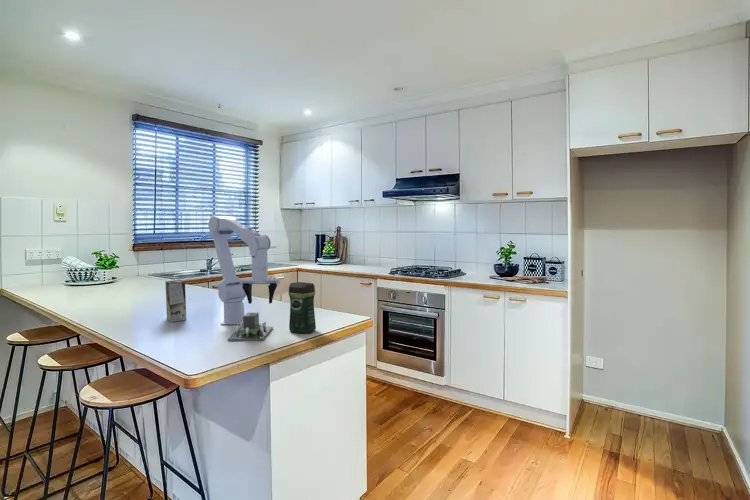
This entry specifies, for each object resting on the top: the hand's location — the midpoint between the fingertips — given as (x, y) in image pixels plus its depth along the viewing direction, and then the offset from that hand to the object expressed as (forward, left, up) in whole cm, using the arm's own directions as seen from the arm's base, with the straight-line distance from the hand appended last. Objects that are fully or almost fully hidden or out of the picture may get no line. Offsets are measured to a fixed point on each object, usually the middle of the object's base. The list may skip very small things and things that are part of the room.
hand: (260, 303), depth 153 cm
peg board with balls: (+6, -2, -10) cm, 12 cm away
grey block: (+6, -2, -8) cm, 11 cm away
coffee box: (-19, -40, -11) cm, 46 cm away
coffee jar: (+2, +16, -11) cm, 19 cm away
